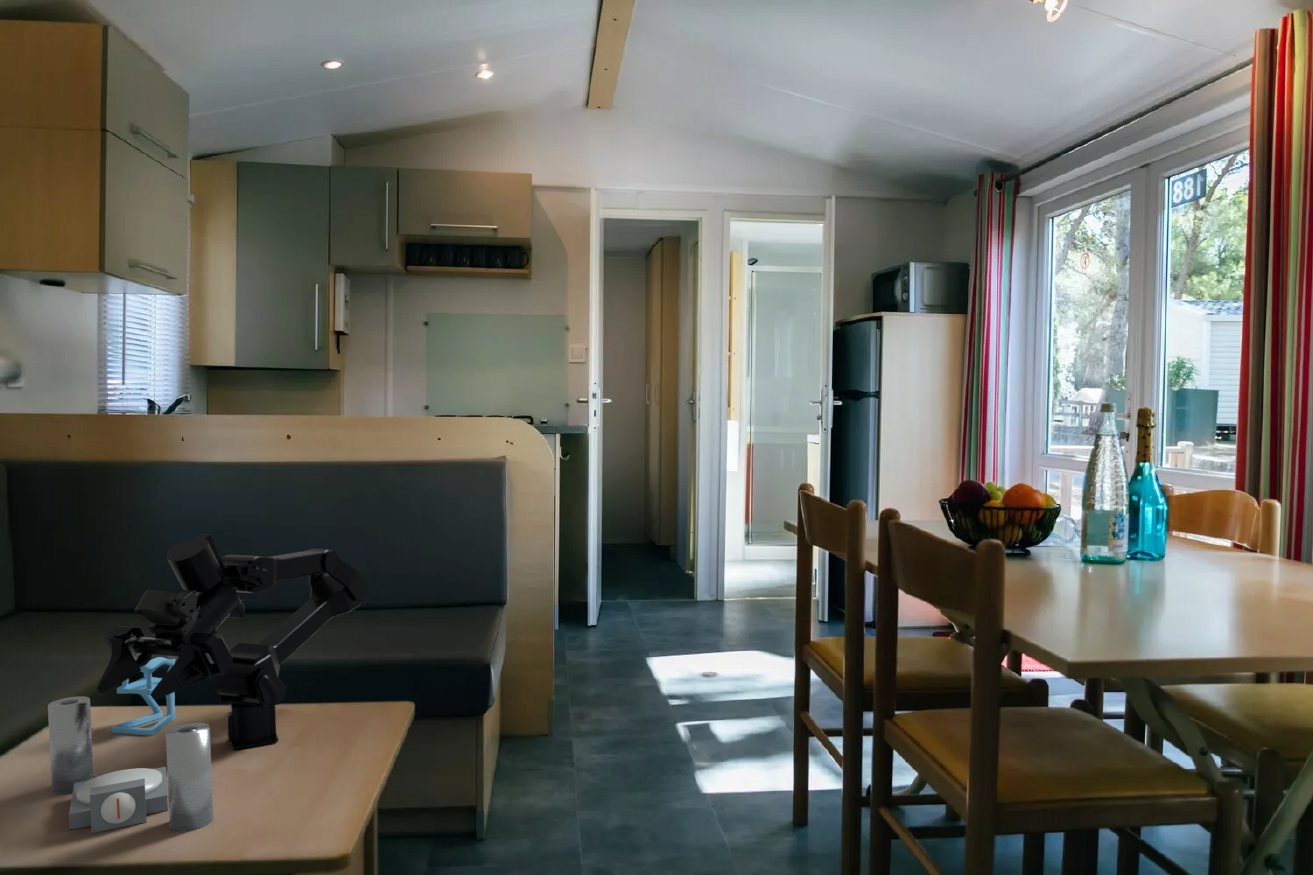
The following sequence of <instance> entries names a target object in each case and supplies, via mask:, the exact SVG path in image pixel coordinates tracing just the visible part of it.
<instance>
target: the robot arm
mask: <svg viewBox="0 0 1313 875" xmlns="http://www.w3.org/2000/svg"><path fill="white" fill-rule="evenodd" d="M166 559H167V561H168V563H169V565H170V567H171V569H172V570H173V573H174V574H175V576H176V579H177V581H178V582H179V584H180V586H181V588H182V589H183V591H181V592H179V593H176V592H170V591H167V590H158V589H157V590H156V589H155V590H154V589H147V590H145V592H144V594H143V595H142V597H141V598H140V601H139V602H138V603H137V605H136V607H135V609H134V611H135V613H136V614H138V615H141V616H143V617H144V619H146V620H148V621H149V622H151V623H150V624H149V625H148V628H149V630H150V632H151V633H152V634H154V635H155V636H154V637H147V636H145V635H144V633H143V631H142V629H141V628H140V627H134V626H133V627H131V626H120V625H114V626H113V627H112V628H111V629H109V631H107V632H106V633H105V634H104V636H103V639H104V641H105V643H106V644H107V646H108V648H109V650H110V651H111V656H110V659H109V661H108V664H107V665H106V668H105V670H104V672H103V674H102V676H101V679H100V681H99V682H98V684H97V686H96V690H97V692H98V694H100V695H103V694H105V693H108V691H111V690H113V689H115V688H117V686H119V685H120V684H121V685H122V683H123V682H124V681H125V680H127V679H131V678H132V677H134V676H135V675H137V674H139V673H140V671H141V669H140V667H142V666H144V665H146V664H147V663H148V662H149V661H150V660H152V655H155V656H156V655H158V656H167V659H170V660H171V659H176V661H175V664H174V665H173V666H172V668H171V669H170V670H169V671H168V670H167V671H166V673H165V675H164V676H162V677H161V678H162V679H161V681H160V682H159V683H158V684H157V685H156V687H155V688H154V690H153V691H152V692H151V696H152V698H153V699H154V700H159V699H162V698H163V697H166V695H169V694H171V693H173V692H177V691H178V692H179V691H180V690H182V689H185V688H187V687H189V686H190V687H191V686H193V685H195V684H198V683H201V682H204V681H206V680H212V683H213V687H214V690H215V692H216V694H217V697H218V699H219V702H220V704H227V705H230V711H228V712H227V713H226V730H227V732H226V733H227V740H228V741H227V742H228V743H229V744H231V745H232V750H240V749H245V748H252V747H256V746H262V745H269V744H272V743H273V744H274V743H277V742H279V737H278V734H277V717H276V716H277V714H276V705H279V704H280V702H282V701H284V700H285V698H286V692H287V686H288V685H287V684H285V682H284V681H282V680H281V679H280V678H279V673H280V668H281V667H280V666H281V665H282V664H283V663H284V662H286V660H287V659H289V657H291V656H292V655H293V654H294V653H295V652H297V650H298V649H300V647H302V646H303V645H304V644H305V643H306V642H307V641H308V640H309V639H310V638H311V637H313V635H314V634H316V633H317V631H319V630H320V629H321V628H322V627H324V625H326V623H328V621H330V620H331V619H333V618H336V617H338V616H341V615H345V614H347V613H350V612H352V611H353V610H355V609H357V608H359V607H360V606H361V605H362V604H363V602H364V601H365V598H366V596H367V593H368V592H367V591H368V589H367V585H366V583H365V581H364V579H363V578H362V577H361V575H360V574H359V572H358V571H357V570H356V569H355V568H354V567H352V566H351V565H350V564H348V563H346V562H345V561H344V560H342V559H341V558H340V556H339V555H338V554H337V553H336V551H333V550H332V549H327V548H326V549H325V548H310V549H308V550H305V551H297V552H290V553H286V554H279V555H272V556H271V555H270V556H263V555H262V556H261V555H243V554H241V555H240V554H227V555H226V554H225V555H223V556H222V557H221V555H220V554H219V552H218V550H217V548H216V545H215V541H214V539H213V537H212V535H211V534H206V533H205V534H204V533H203V534H202V533H200V534H198V535H197V536H196V537H195V538H191V539H190V538H189V539H187V540H185V541H184V540H183V541H182V542H180V543H178V544H175V545H173V546H172V547H170V549H169V550H168V551H167V553H166ZM304 576H307V586H308V587H309V588H310V594H309V595H310V596H309V597H310V598H309V599H308V600H307V601H306V602H305V603H304V604H302V605H301V606H300V607H299V608H298V609H296V611H295V612H293V613H292V614H291V615H290V616H288V617H287V618H286V619H285V620H284V621H282V623H280V625H278V626H277V627H276V628H275V629H274V630H273V631H271V632H270V633H269V634H267V635H266V636H265V637H264V638H263V639H262V640H260V641H259V642H258V643H251V642H238V643H237V644H235V645H234V646H233V647H232V648H231V649H230V648H229V647H228V645H227V644H226V642H225V640H224V638H223V635H222V634H221V633H218V632H217V631H216V630H217V629H218V628H219V627H220V626H221V625H222V624H223V623H224V622H225V621H226V620H227V619H228V618H234V619H244V618H245V617H246V609H245V600H243V599H242V600H241V599H240V596H239V594H238V593H243V594H259V593H262V592H264V591H266V590H269V589H271V588H273V587H274V586H275V585H276V583H278V582H279V581H284V580H288V579H293V578H294V579H295V578H299V577H304ZM184 590H185V591H184ZM229 649H230V650H229Z"/></svg>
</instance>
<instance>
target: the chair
mask: <svg viewBox="0 0 1313 875" xmlns="http://www.w3.org/2000/svg"><path fill="white" fill-rule="evenodd" d="M176 661H177V659H170V658H166V657H161V656H158V657H154V658H153V659H152V658H151V660H150V661H149V662H148V663H147V664H146V665H144V666H142V667H140V669H141V671H140V672H141V673H143V678H139V679H137V680H136V681H133V682H131V683H129V679H130V678H129V679H127V680H125V681H124V682H122V683H121V686H118V687H116V694H123V695H124V694H136V695H140V696H141V697H142V698H143V700H144V701H145V702H146V704H147V705H148V706H149V708H150V710H151V711H152V712H153V713H151V714H148V715H145V716H141V717H137V718H135V719H131V720H127V721H125V722H121V723H118V724H116V725H115V724H114V725H113V726H111V732H112V733H113V734H122V735H123V734H124V735H136V736H147V737H150V736H154V735H156V733H158V732H159V731H161V730H162V729H164V727H166V725H168V724H169V723H170V722H172V721H173V720H175V719H176V709H175V701H176V700H175V697H176V696H175V692H173V693H171V694H169V695H166V696H165V700H166V715H165V716H164V715H163V711H162V709H161V708H160V707H159V706H160V705H159V704H158V703H157V702H156V701H155V700H154V699H153V698H152V696H151V692H152V691H153V690H154V688H155V687H156V685H157V684H158V683H159V682H160V681H161V679H162V678H163V677H154V676H153V673H154V672H155V671H156V670H158V668H160V667H161V666H163V665H167V666H169V667H168V669H167V672H168V671H169V670H170V669H171V668H172V666H173V665H174V664H175V663H176ZM140 672H139V673H140ZM156 720H158V722H156V723H155V724H154V725H153V726H151V727H149V728H146V727H136V726H139V725H142V724H147V723H149V722H154V721H156Z"/></svg>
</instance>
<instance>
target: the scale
mask: <svg viewBox="0 0 1313 875" xmlns="http://www.w3.org/2000/svg"><path fill="white" fill-rule="evenodd" d="M166 767H167V766H162V767H157V768H143V767H141V768H127V769H121V770H115V771H111V772H108V773H104V774H100V775H98V776H96V777H94V778H93V779H90V780H88V781H84V782H78V783H74V789H73V793H71V794H72V796H71V802H70V807H69V811H68V823H69V824H68V825H69V826H68V827H69V830H70V829H72V830H76V829H81V828H86V827H91V830H90V831H91V834H95V833H100V832H103V831H109V830H113V829H119V828H123V827H128V826H134V825H139V824H143V823H147V815H151V814H156V813H162V812H166V811H169V800H168V781H167V768H166Z"/></svg>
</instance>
